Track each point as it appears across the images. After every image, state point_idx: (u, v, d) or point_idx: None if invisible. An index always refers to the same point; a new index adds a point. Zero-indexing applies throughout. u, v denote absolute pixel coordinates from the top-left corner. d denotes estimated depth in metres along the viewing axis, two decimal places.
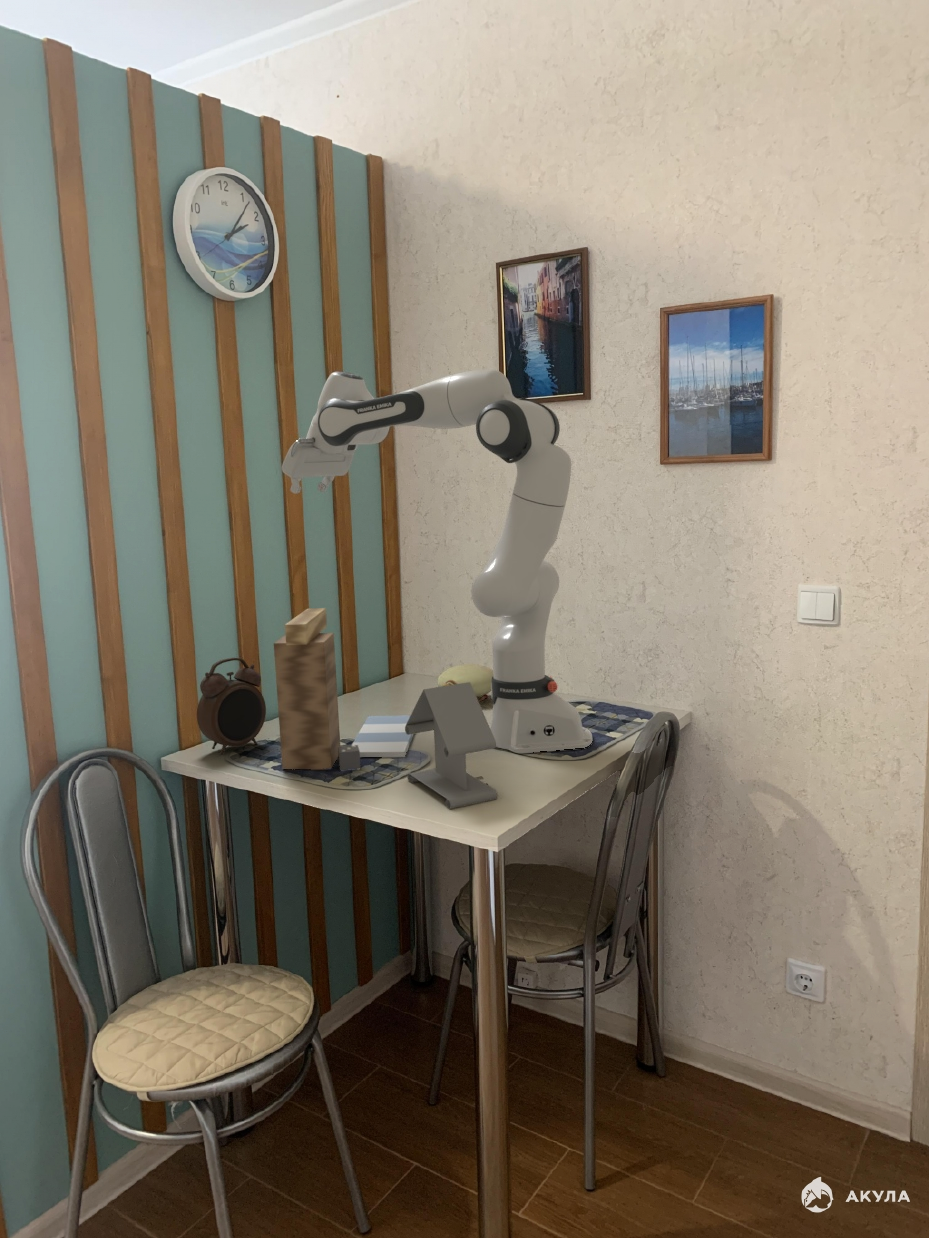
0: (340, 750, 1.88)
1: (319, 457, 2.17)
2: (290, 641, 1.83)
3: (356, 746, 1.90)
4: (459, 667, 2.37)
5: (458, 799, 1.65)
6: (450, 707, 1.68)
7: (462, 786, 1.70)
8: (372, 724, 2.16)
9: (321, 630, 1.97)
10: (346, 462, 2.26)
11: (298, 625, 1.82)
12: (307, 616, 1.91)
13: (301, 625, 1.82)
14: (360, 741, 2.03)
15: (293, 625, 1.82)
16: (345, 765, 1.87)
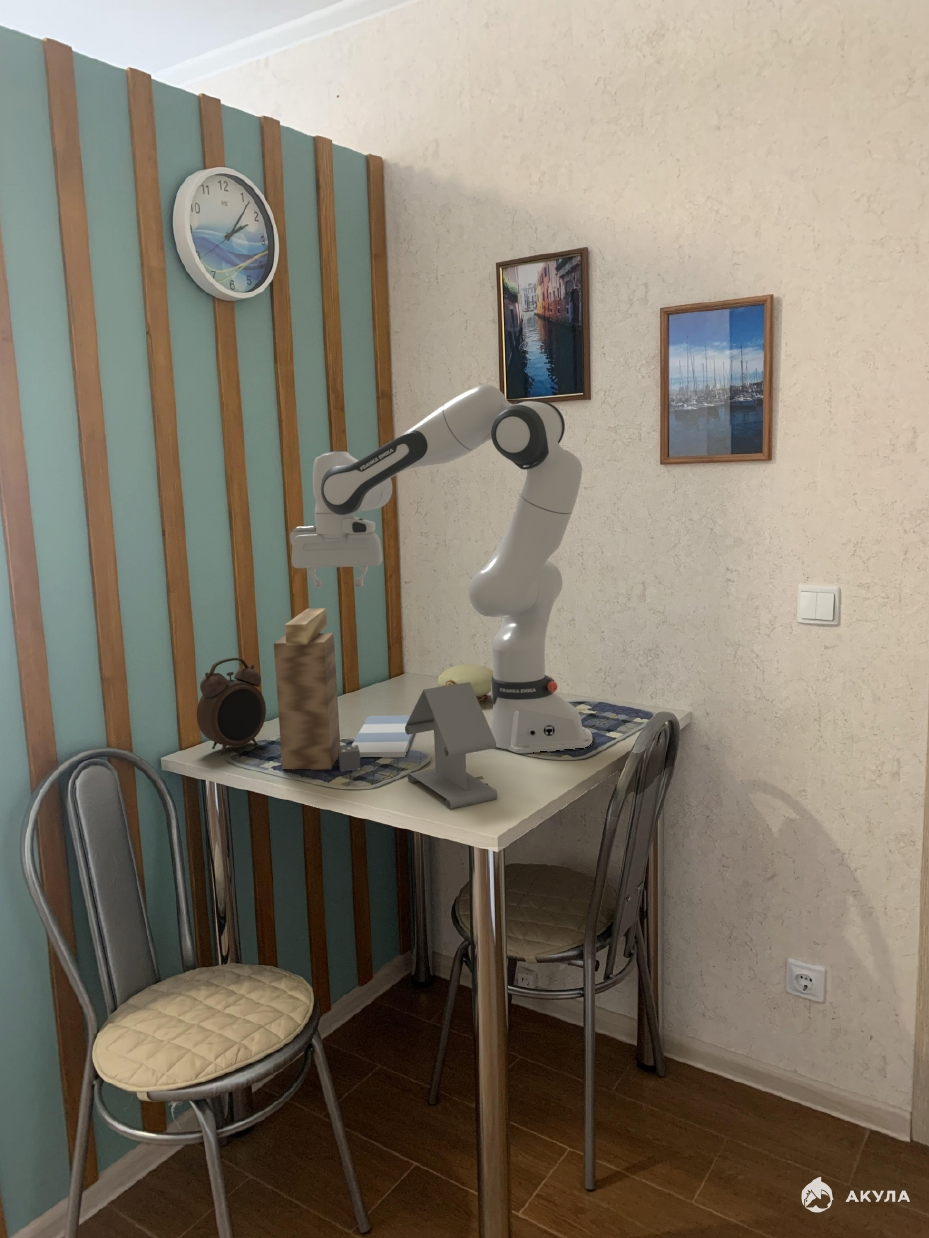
0: (340, 750, 1.88)
1: (325, 544, 2.09)
2: (290, 641, 1.83)
3: (356, 746, 1.90)
4: (459, 667, 2.37)
5: (458, 799, 1.65)
6: (450, 707, 1.68)
7: (462, 786, 1.70)
8: (372, 724, 2.16)
9: (321, 630, 1.97)
10: (371, 549, 2.08)
11: (298, 625, 1.82)
12: (307, 616, 1.91)
13: (301, 625, 1.82)
14: (360, 741, 2.03)
15: (293, 625, 1.82)
16: (345, 765, 1.87)
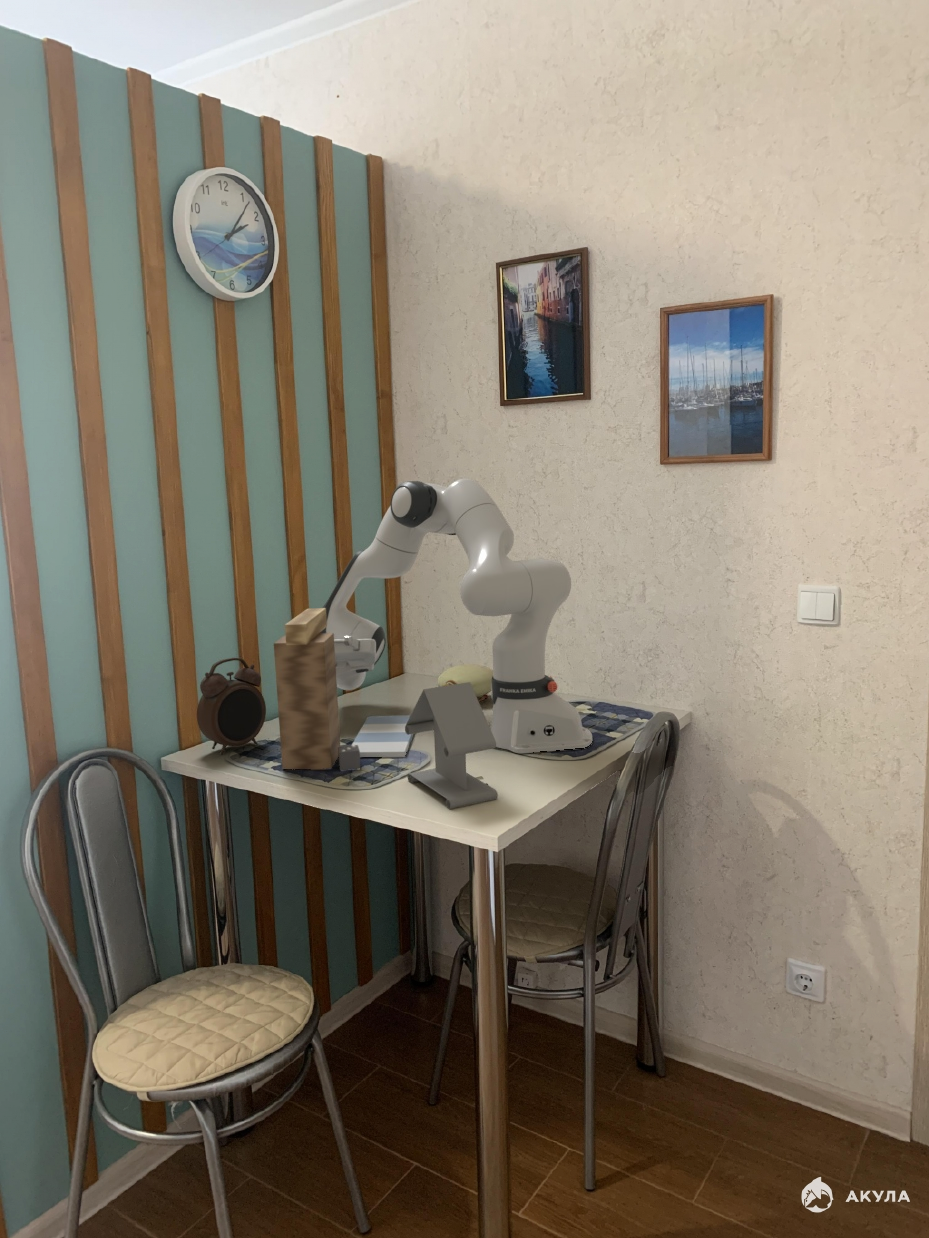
0: (340, 750, 1.88)
1: None
2: (290, 641, 1.83)
3: (356, 746, 1.90)
4: (459, 667, 2.37)
5: (458, 799, 1.65)
6: (450, 707, 1.68)
7: (462, 786, 1.70)
8: (372, 724, 2.16)
9: (321, 630, 1.97)
10: None
11: (298, 625, 1.82)
12: (307, 616, 1.91)
13: (301, 625, 1.82)
14: (360, 741, 2.03)
15: (293, 625, 1.82)
16: (345, 765, 1.87)
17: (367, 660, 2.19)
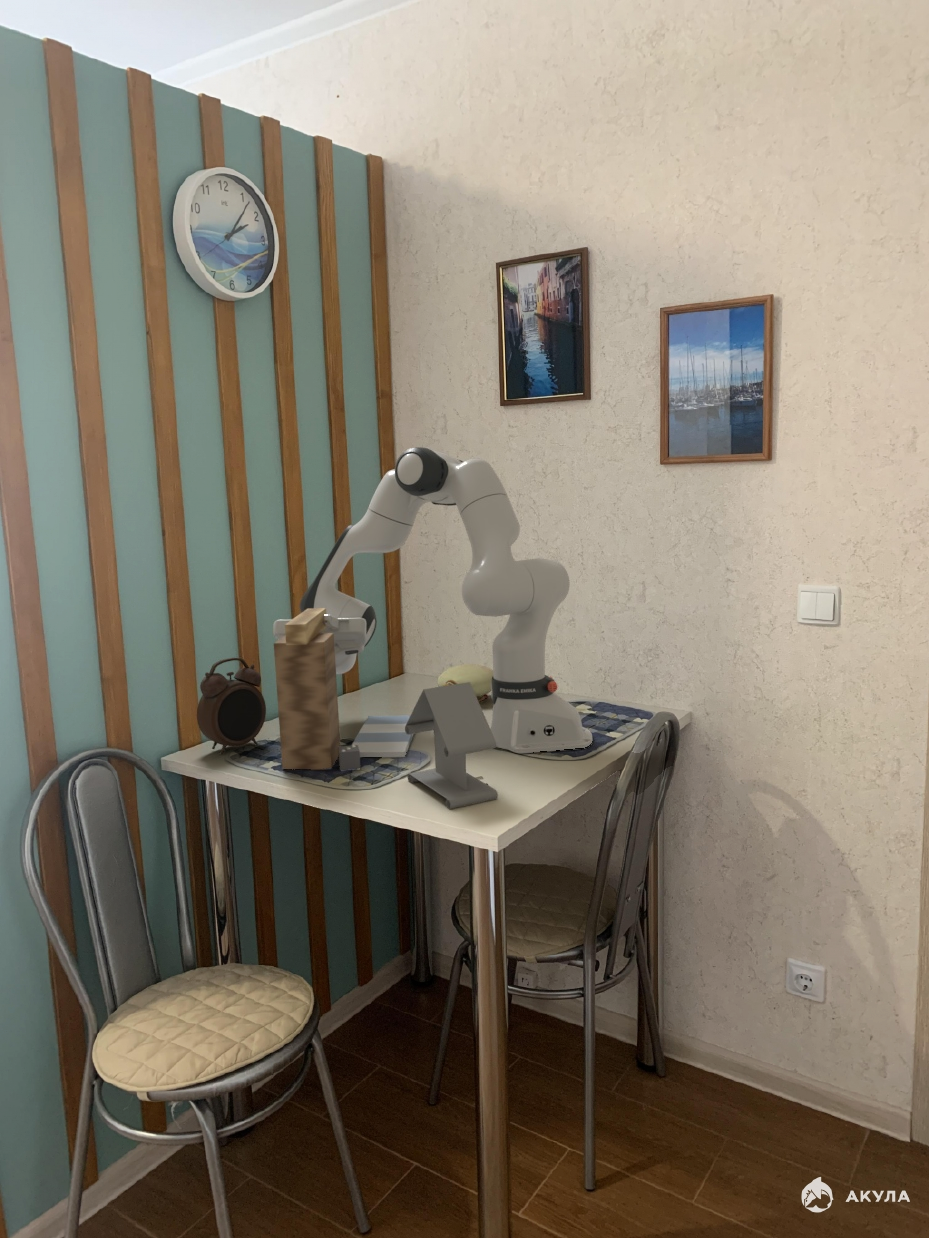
0: (340, 750, 1.88)
1: None
2: (290, 641, 1.83)
3: (356, 746, 1.90)
4: (459, 667, 2.37)
5: (458, 799, 1.65)
6: (450, 707, 1.68)
7: (462, 786, 1.70)
8: (372, 724, 2.16)
9: (321, 630, 1.97)
10: None
11: (298, 625, 1.82)
12: (307, 616, 1.91)
13: (301, 625, 1.82)
14: (360, 741, 2.03)
15: (293, 625, 1.82)
16: (345, 765, 1.87)
17: (357, 640, 2.06)
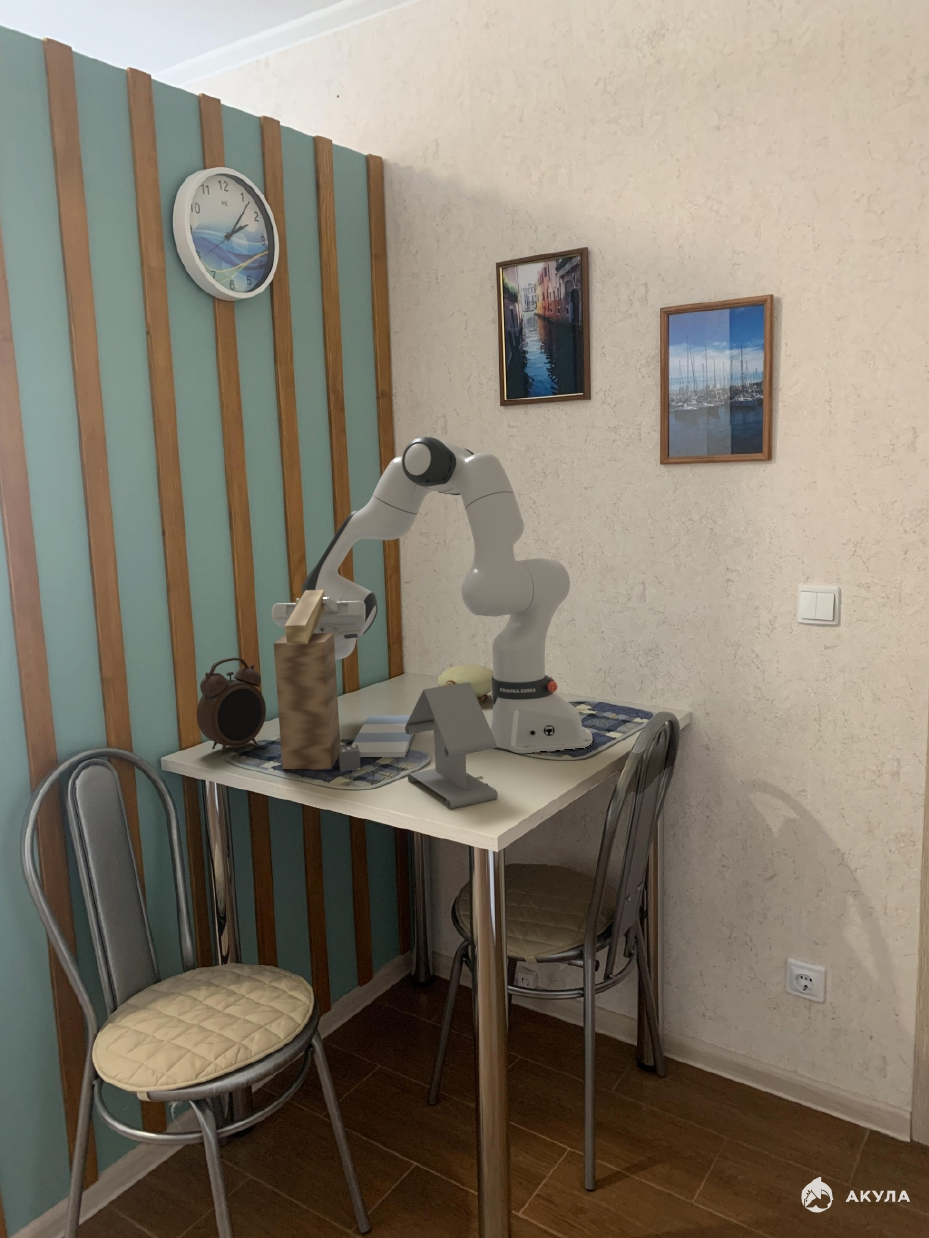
0: (340, 750, 1.88)
1: None
2: (291, 641, 1.83)
3: (356, 746, 1.90)
4: (459, 667, 2.37)
5: (458, 799, 1.65)
6: (450, 707, 1.68)
7: (462, 786, 1.70)
8: (372, 724, 2.16)
9: (320, 616, 1.97)
10: None
11: (298, 626, 1.82)
12: (306, 608, 1.91)
13: (301, 626, 1.82)
14: (360, 741, 2.03)
15: (293, 626, 1.82)
16: (345, 765, 1.87)
17: (356, 624, 2.06)
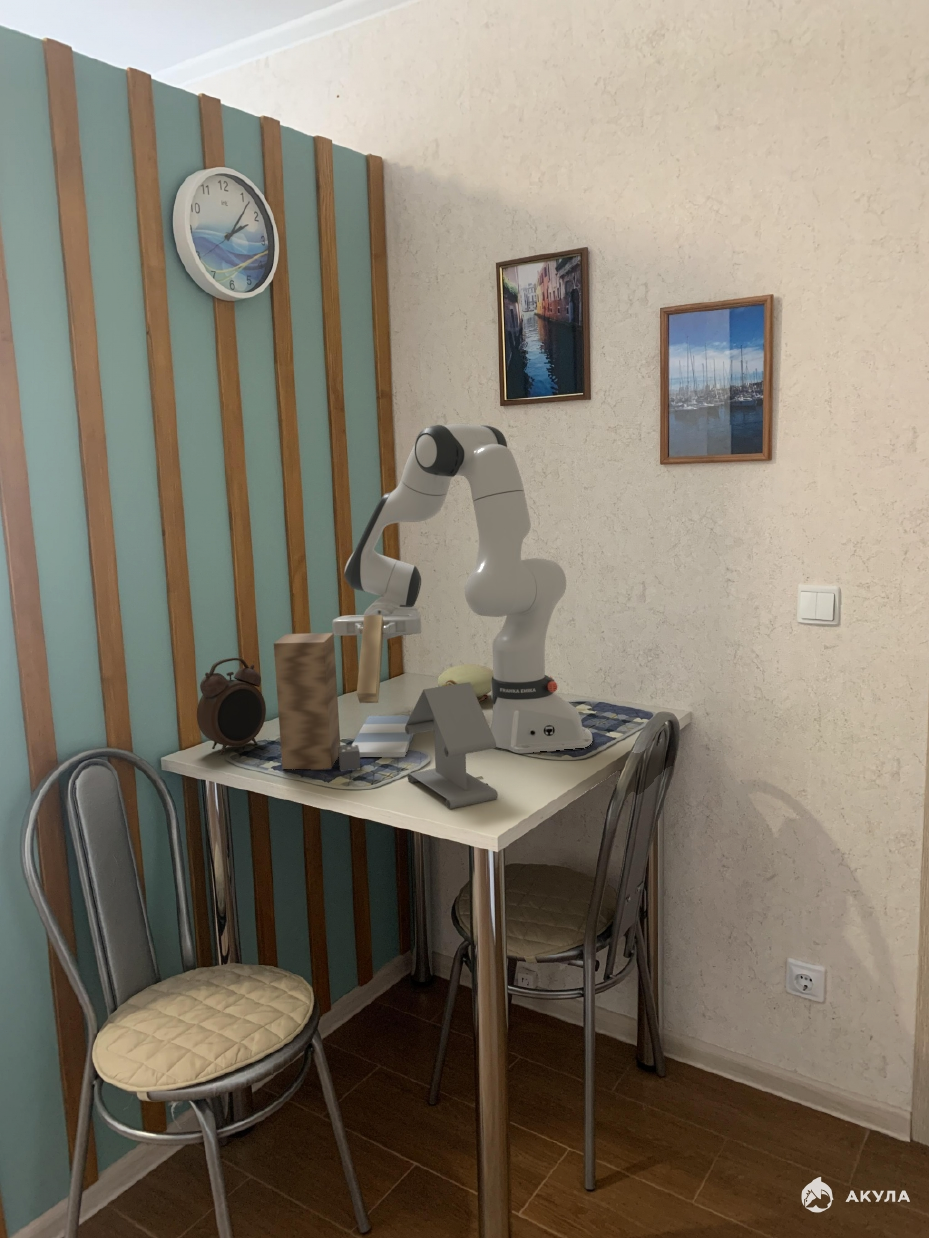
0: (340, 750, 1.88)
1: None
2: (363, 701, 2.00)
3: (356, 746, 1.90)
4: (459, 667, 2.37)
5: (458, 799, 1.65)
6: (450, 707, 1.68)
7: (462, 786, 1.70)
8: (372, 724, 2.16)
9: (382, 646, 2.08)
10: (412, 615, 2.15)
11: (369, 693, 1.97)
12: (371, 655, 2.02)
13: (372, 693, 1.97)
14: (360, 741, 2.03)
15: (364, 693, 1.97)
16: (345, 765, 1.87)
17: None
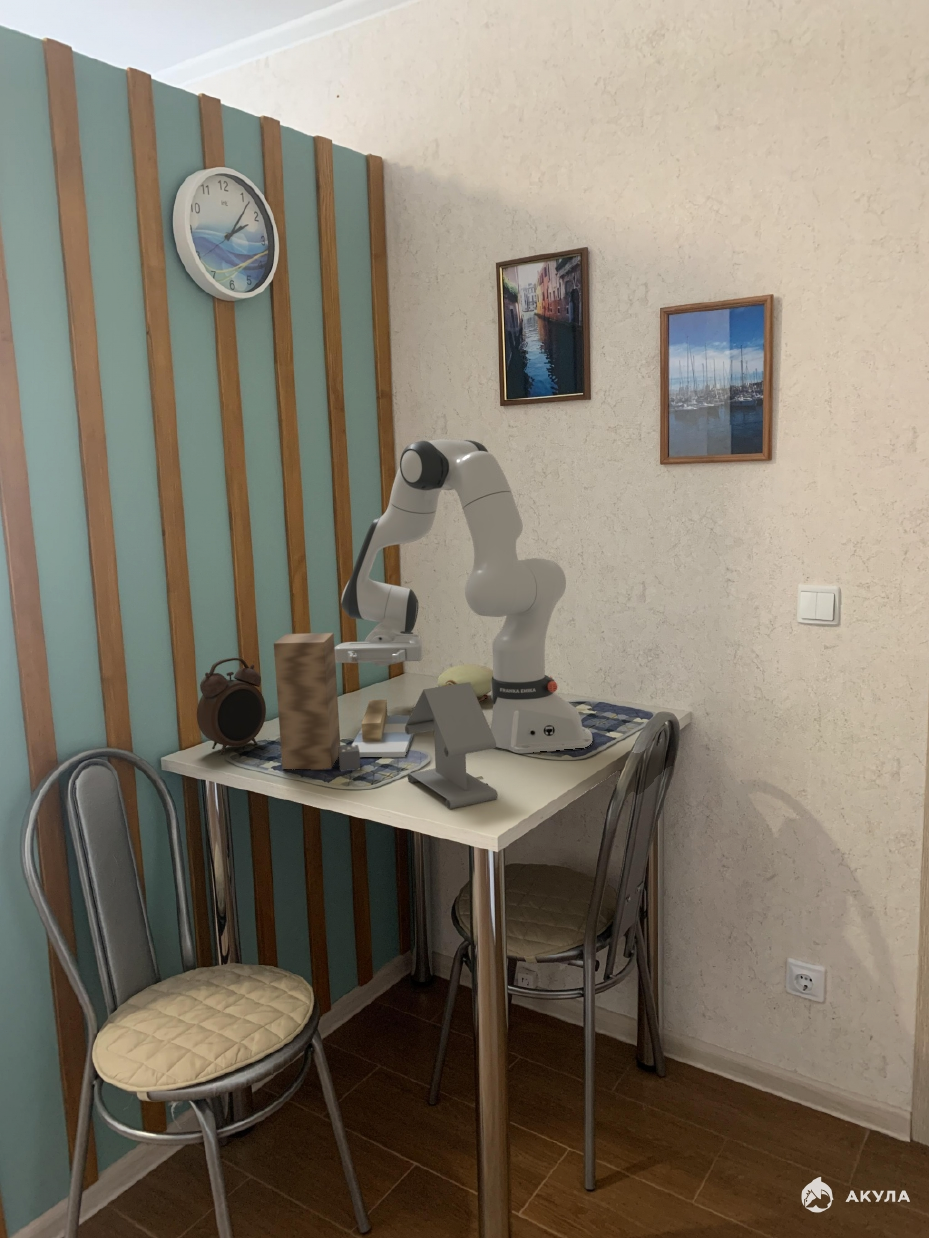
0: (340, 750, 1.88)
1: (371, 644, 2.18)
2: (366, 738, 2.03)
3: (356, 746, 1.90)
4: (459, 667, 2.37)
5: (458, 799, 1.65)
6: (450, 707, 1.68)
7: (462, 786, 1.70)
8: None
9: (385, 721, 2.17)
10: (413, 642, 2.16)
11: (374, 724, 2.02)
12: (376, 711, 2.11)
13: (376, 724, 2.02)
14: (360, 741, 2.03)
15: (369, 724, 2.02)
16: (345, 765, 1.87)
17: None
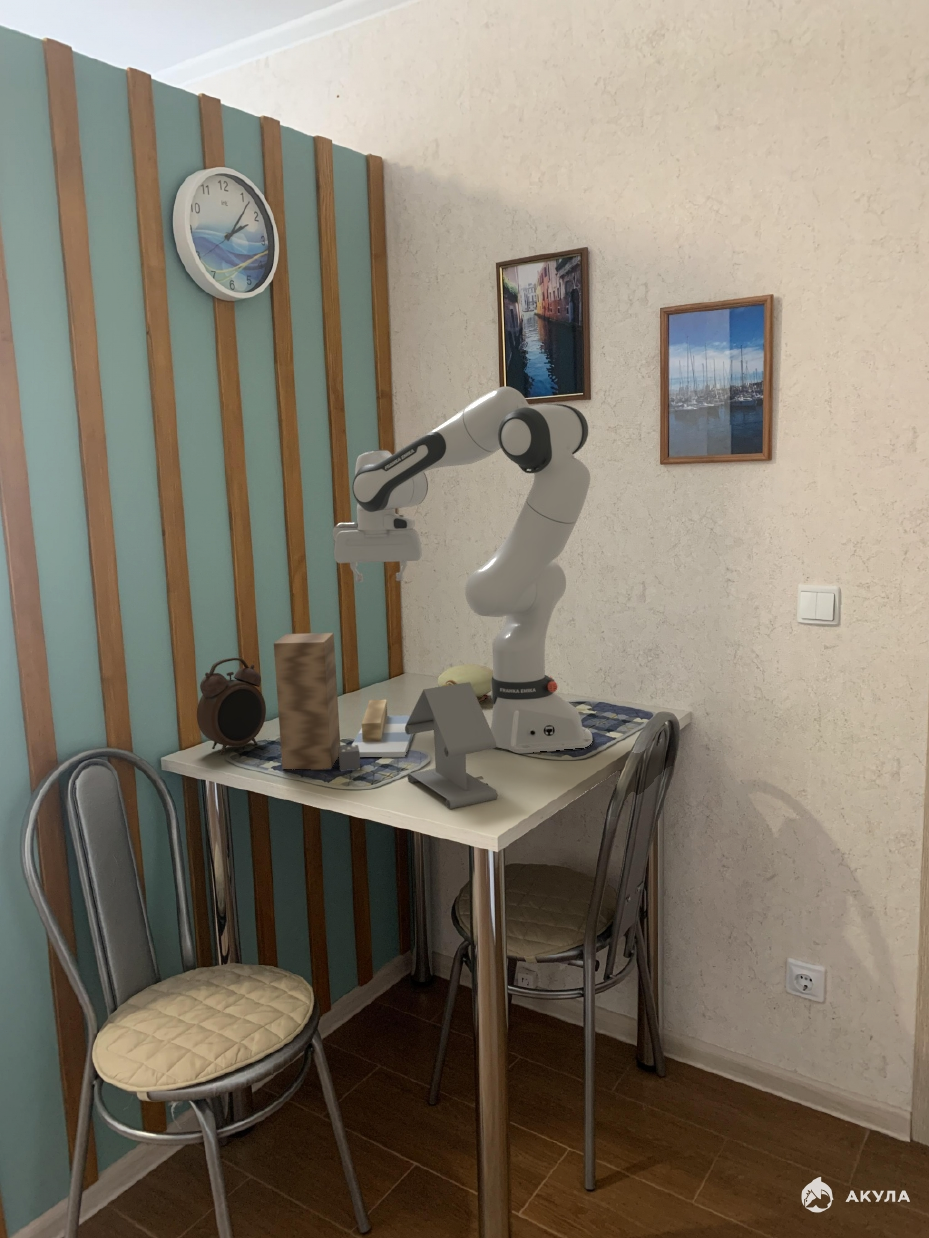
0: (340, 750, 1.88)
1: (367, 540, 2.16)
2: (366, 738, 2.03)
3: (356, 746, 1.90)
4: (459, 667, 2.37)
5: (458, 799, 1.65)
6: (450, 707, 1.68)
7: (462, 786, 1.70)
8: None
9: (385, 721, 2.17)
10: (411, 544, 2.16)
11: (374, 724, 2.02)
12: (376, 711, 2.11)
13: (376, 724, 2.02)
14: (360, 741, 2.03)
15: (369, 724, 2.02)
16: (345, 765, 1.87)
17: None
